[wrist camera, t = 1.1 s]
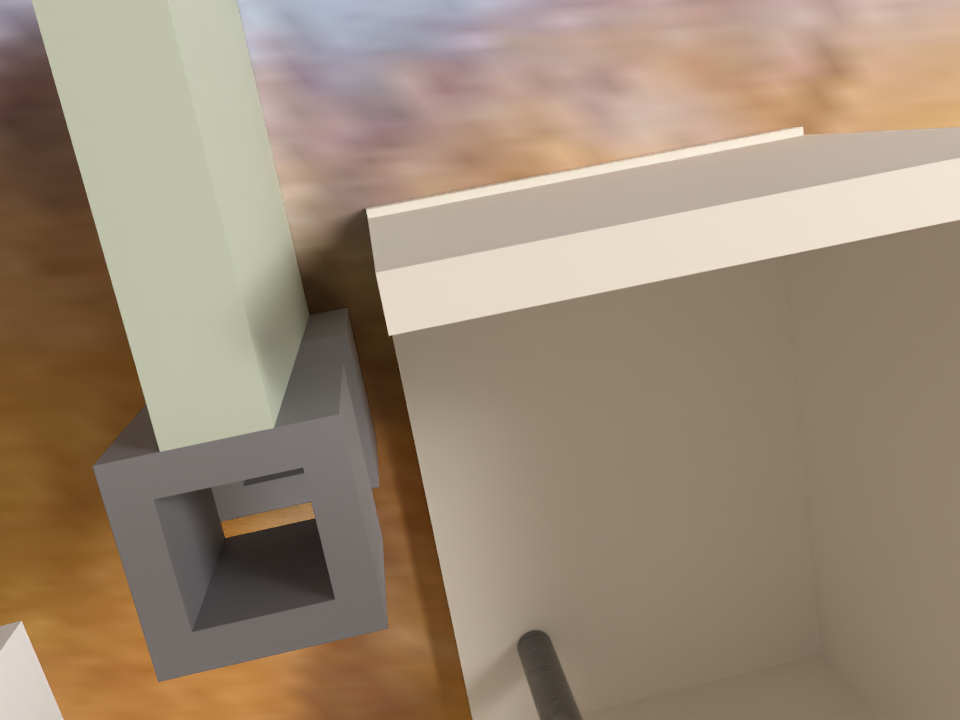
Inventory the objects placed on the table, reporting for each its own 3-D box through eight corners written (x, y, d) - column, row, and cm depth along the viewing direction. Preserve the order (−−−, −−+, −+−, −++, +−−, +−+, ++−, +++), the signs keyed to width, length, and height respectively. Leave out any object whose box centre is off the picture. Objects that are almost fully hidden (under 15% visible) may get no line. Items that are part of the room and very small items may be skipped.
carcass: (365, 208, 32) (372, 256, 16) (787, 127, 33) (1170, 100, 17) (479, 751, 37) (565, 1180, 22) (836, 662, 39) (1160, 1006, 23)
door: (113, -15, 29) (-101, -165, 16) (270, -41, 30) (196, -209, 16) (239, 468, 33) (158, 682, 20) (376, 439, 34) (387, 628, 20)
